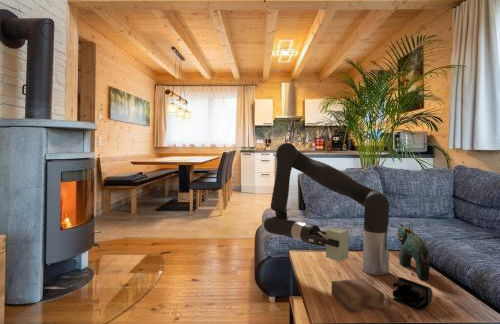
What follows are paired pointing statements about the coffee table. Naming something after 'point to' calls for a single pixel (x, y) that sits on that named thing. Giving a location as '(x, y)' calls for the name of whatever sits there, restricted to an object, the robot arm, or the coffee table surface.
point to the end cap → (412, 294)
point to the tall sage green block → (342, 250)
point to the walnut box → (357, 295)
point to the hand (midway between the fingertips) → (343, 242)
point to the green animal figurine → (413, 251)
